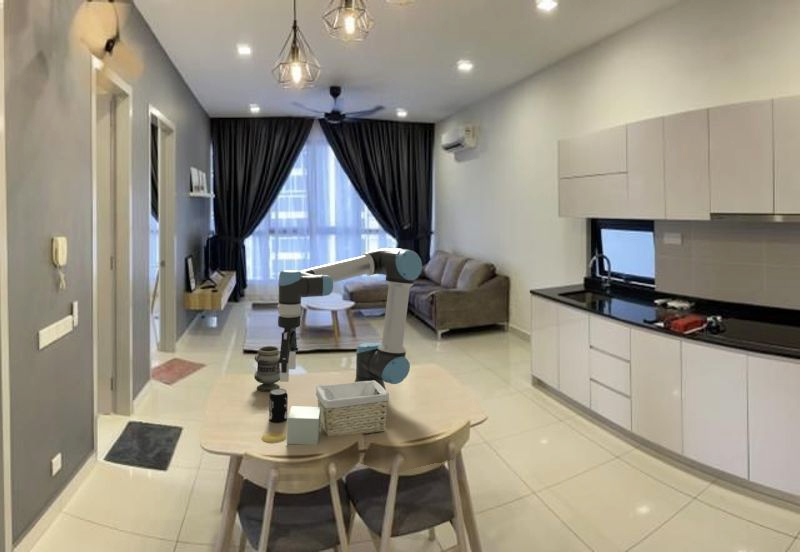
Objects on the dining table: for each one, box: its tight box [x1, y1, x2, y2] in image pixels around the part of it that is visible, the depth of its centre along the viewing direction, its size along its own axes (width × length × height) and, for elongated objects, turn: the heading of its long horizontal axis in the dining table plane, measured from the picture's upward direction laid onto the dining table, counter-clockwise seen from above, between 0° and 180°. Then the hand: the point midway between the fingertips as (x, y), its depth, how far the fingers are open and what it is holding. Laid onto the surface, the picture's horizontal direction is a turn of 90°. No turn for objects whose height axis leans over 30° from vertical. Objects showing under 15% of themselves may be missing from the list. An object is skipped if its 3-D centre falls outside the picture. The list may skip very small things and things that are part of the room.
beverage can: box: [268, 388, 289, 424], centre depth 180 cm, size 7×7×12 cm
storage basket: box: [315, 380, 390, 437], centre depth 179 cm, size 24×16×15 cm
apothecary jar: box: [253, 345, 281, 393], centre depth 215 cm, size 12×12×18 cm
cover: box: [286, 405, 321, 445], centre depth 167 cm, size 10×10×9 cm
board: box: [261, 431, 288, 447], centre depth 167 cm, size 18×13×5 cm
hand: (288, 375), depth 171 cm, fingers open, 13 cm apart
